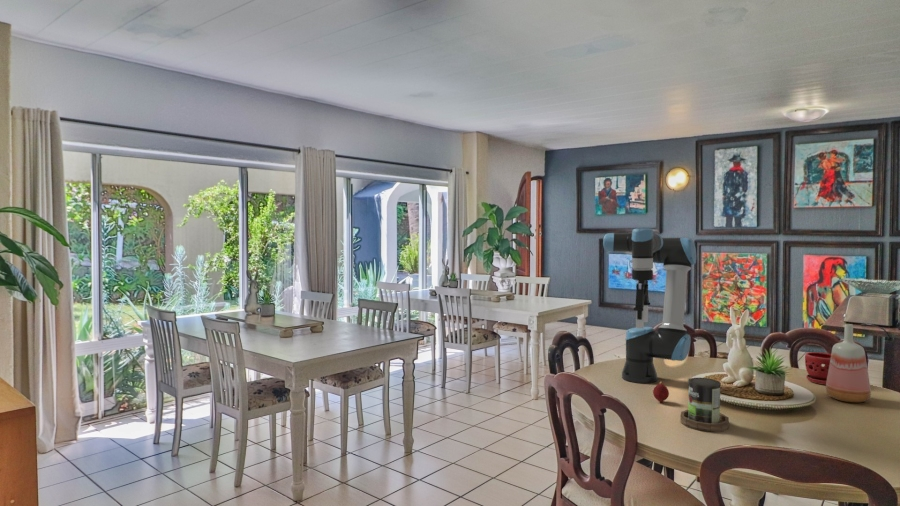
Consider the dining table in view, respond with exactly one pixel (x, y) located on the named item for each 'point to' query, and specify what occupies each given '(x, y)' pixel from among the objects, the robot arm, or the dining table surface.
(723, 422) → the tray
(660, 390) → the onion
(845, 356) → the vase
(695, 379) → the coffee can
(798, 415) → the dining table surface
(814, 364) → the plant pot
